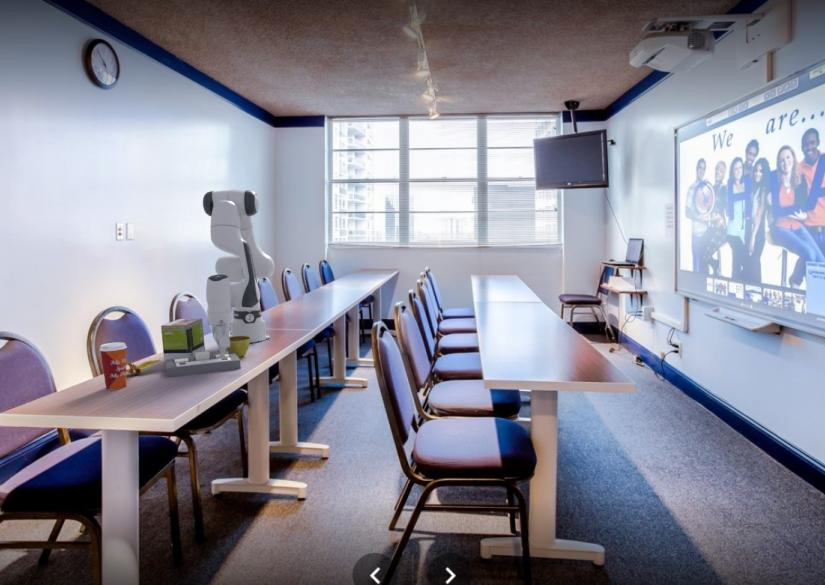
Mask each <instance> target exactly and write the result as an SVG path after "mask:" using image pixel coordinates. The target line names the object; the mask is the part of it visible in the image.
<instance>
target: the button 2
mask: <svg viewBox="0 0 825 585" xmlns="http://www.w3.org/2000/svg"><path fill="white" fill-rule="evenodd" d="M214 355H215V354H214ZM226 357H230V356H229V354H225V356H222V357H221V356H220V355H215V358H216V359H217V358H226Z"/></svg>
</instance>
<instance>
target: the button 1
mask: <svg viewBox="0 0 825 585" xmlns="http://www.w3.org/2000/svg"><path fill="white" fill-rule="evenodd" d="M174 362H175V363H181V362H189V359H188V358H182V359H174Z"/></svg>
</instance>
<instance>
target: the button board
mask: <svg viewBox="0 0 825 585" xmlns="http://www.w3.org/2000/svg"><path fill="white" fill-rule="evenodd" d="M225 354H229V356H230V357H226V358H217V359H216V358H215V355H219V353H216V354H209V356H210V359H208V360H199V361H195V357H187V358H188V359H189V362H181V363H175V362H174V359H169V360H166V363H165V364H166V373H167V375H168V376H172V377H178V376H177V375H180V376H187V375H186V374H188V375H194V373H197V374H203V373H202V372H205V373H211V372H210V371H213V372H221V371H220V370H222V371H228V370H227V369H230V370H235V369H234V368H238V369H241V368H242V364H241V358H240V357H238V356H237V355H236V353H235V352H234V353H228V352H225ZM178 359H182V358H178ZM168 376H167V377H168Z"/></svg>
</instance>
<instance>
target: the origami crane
mask: <svg viewBox="0 0 825 585" xmlns="http://www.w3.org/2000/svg"><path fill="white" fill-rule="evenodd" d="M160 361H161V359H154V360H148V361H145V362H142V363H141V364H139V365H138V364H134V363H132V362H130V361H129V360H128V357H126V365H127V366H128V367H129V369H126V375H130V374H132V375H133V374H135V376H140V374H141V372H142V371H144V370H146V369H147V368H149V367H150V366H152V365H155V364H157V363H159V362H160Z"/></svg>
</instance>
